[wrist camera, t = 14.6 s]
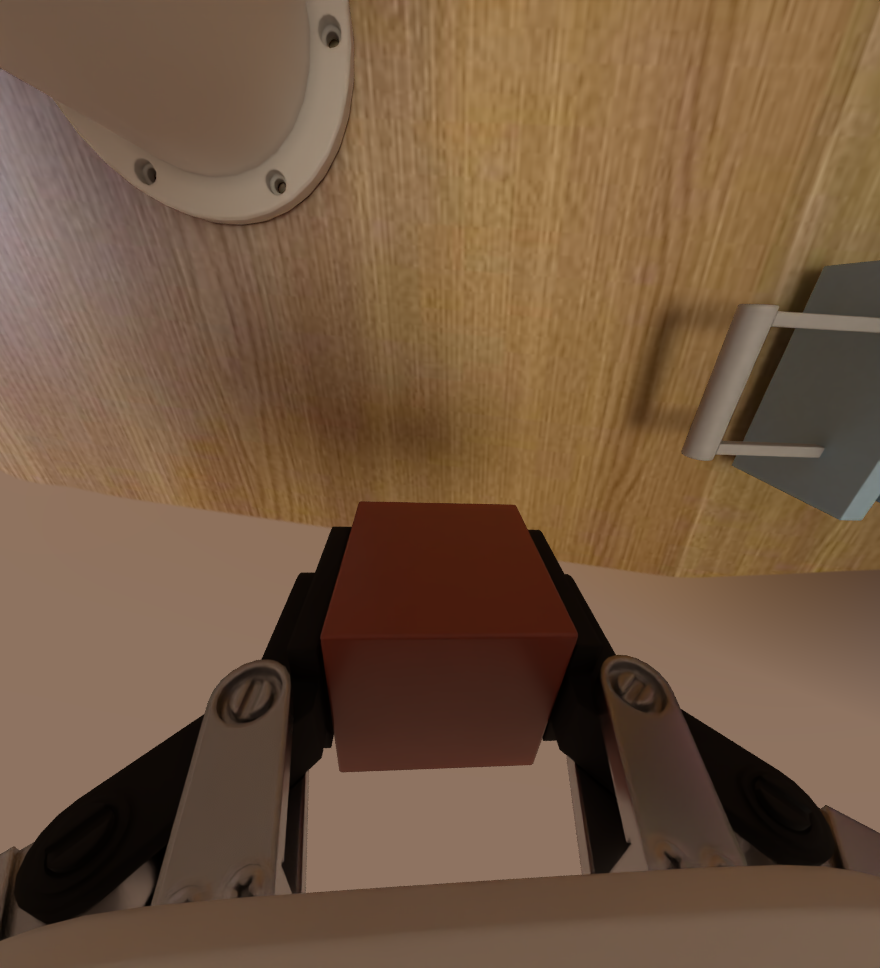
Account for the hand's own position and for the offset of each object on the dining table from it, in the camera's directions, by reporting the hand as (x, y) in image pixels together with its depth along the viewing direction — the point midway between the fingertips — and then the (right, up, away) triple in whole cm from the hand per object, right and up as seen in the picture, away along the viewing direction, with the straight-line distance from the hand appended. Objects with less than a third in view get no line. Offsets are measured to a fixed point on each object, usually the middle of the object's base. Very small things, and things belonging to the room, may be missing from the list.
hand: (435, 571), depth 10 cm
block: (0, 0, 0) cm, 0 cm away
